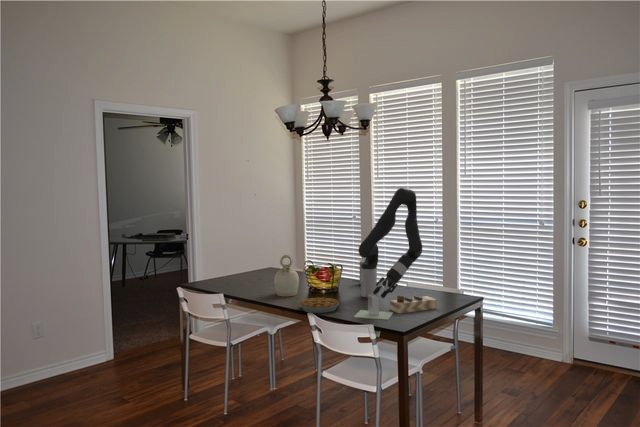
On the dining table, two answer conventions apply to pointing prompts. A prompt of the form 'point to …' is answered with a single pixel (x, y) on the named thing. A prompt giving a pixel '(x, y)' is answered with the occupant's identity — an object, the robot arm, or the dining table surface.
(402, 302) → the beige notched block
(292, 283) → the jug
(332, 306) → the pie
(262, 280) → the dining table surface
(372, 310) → the lever cap
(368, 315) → the mat
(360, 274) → the skincare box
